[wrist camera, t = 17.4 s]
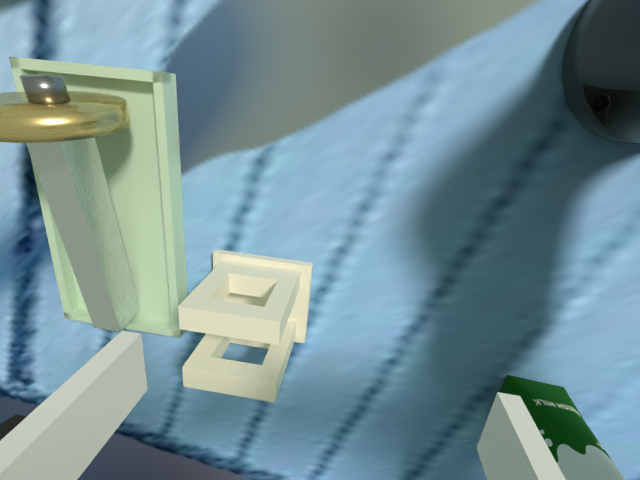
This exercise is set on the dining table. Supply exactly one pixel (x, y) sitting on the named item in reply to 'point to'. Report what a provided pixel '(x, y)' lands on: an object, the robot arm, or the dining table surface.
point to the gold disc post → (76, 184)
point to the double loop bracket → (246, 322)
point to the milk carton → (564, 430)
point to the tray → (131, 190)
